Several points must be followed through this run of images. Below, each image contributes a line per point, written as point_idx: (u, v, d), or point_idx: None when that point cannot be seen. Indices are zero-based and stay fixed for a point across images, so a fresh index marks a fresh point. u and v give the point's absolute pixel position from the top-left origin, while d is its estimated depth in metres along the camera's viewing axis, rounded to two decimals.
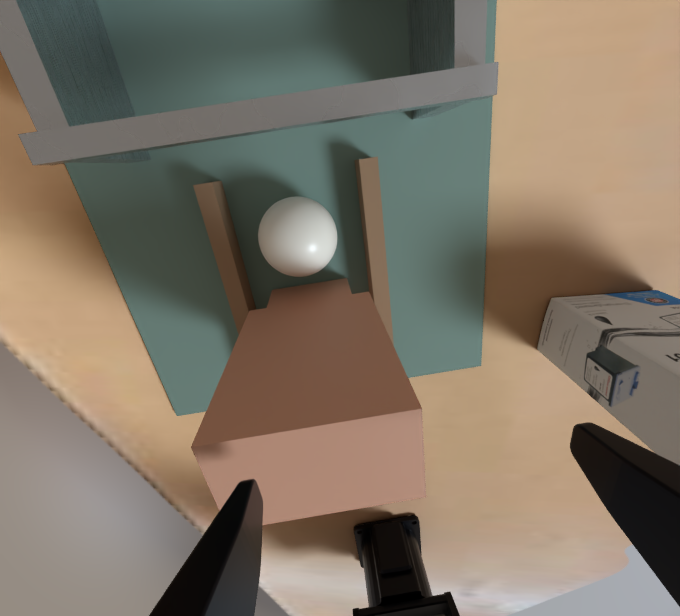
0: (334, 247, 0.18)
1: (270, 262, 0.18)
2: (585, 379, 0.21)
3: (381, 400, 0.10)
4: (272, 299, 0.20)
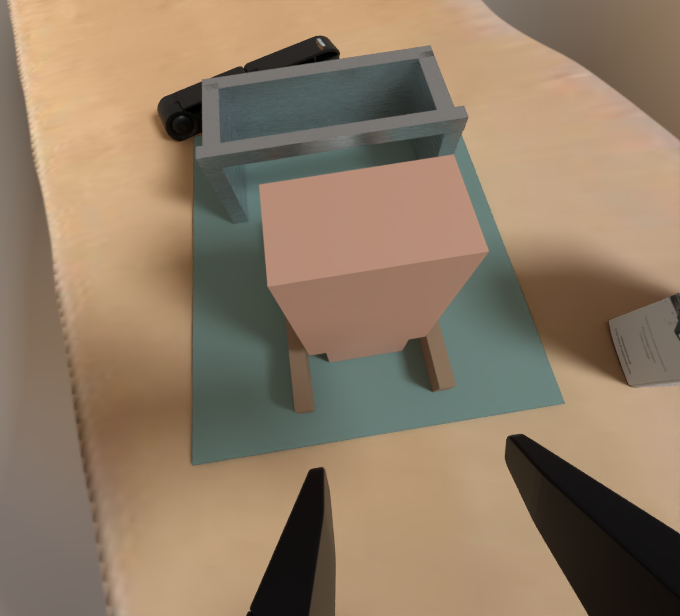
0: None
1: None
2: None
3: None
4: None
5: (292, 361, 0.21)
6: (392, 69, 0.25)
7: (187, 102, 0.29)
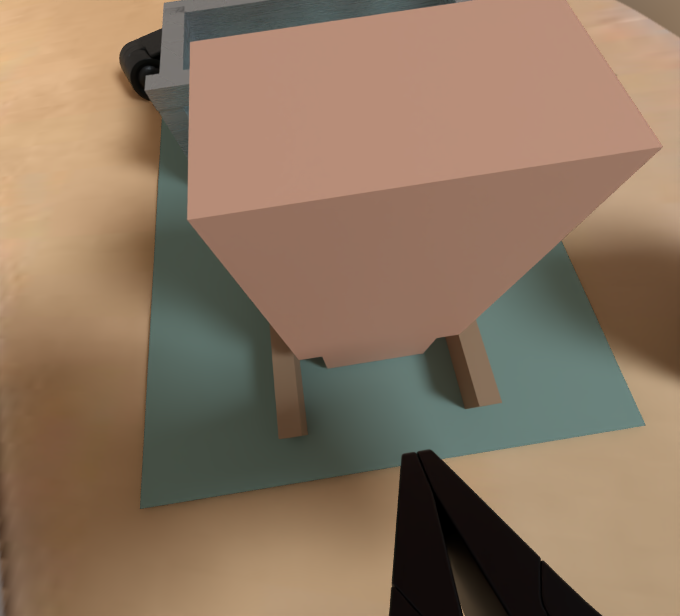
0: None
1: None
2: None
3: None
4: None
5: (276, 367, 0.15)
6: None
7: (156, 47, 0.23)
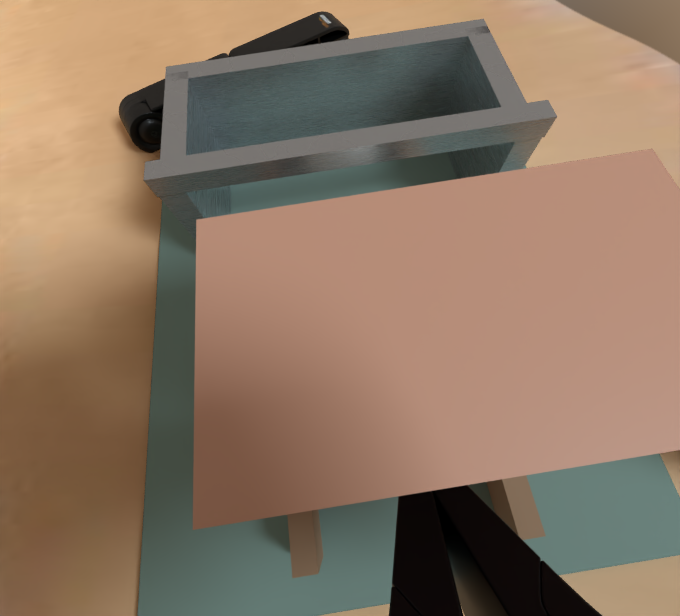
0: None
1: None
2: None
3: None
4: None
5: None
6: (430, 52, 0.18)
7: (157, 101, 0.22)
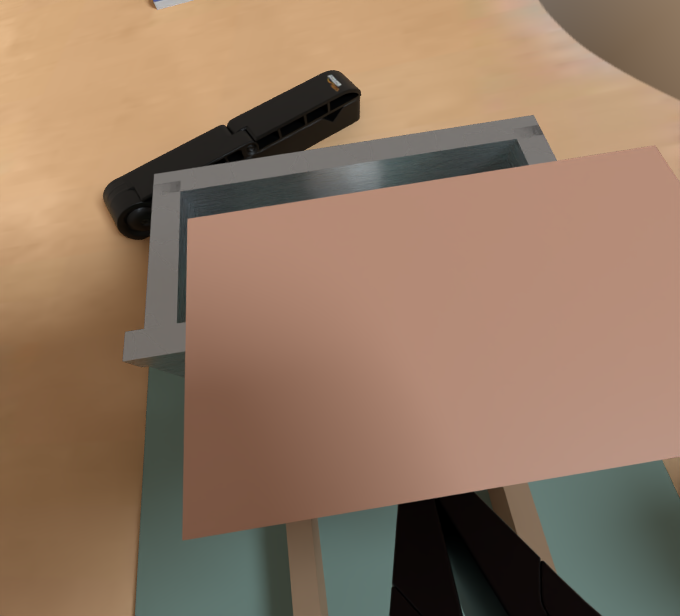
0: None
1: None
2: None
3: None
4: None
5: None
6: (470, 155, 0.15)
7: (147, 188, 0.19)
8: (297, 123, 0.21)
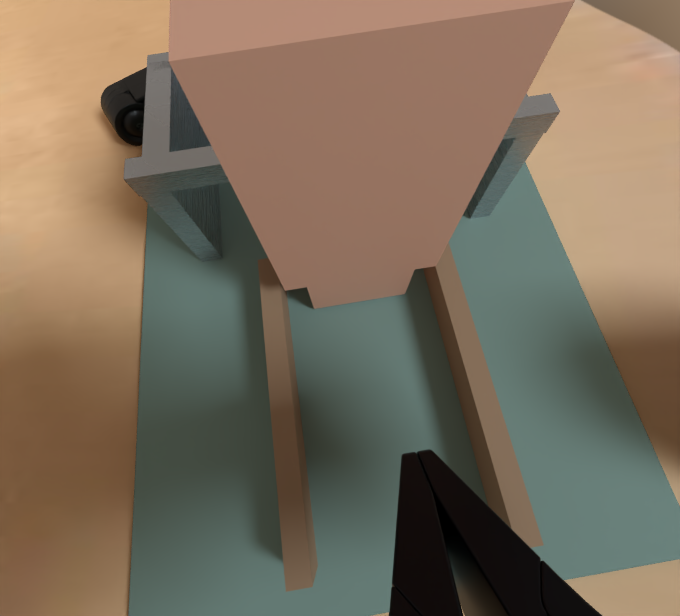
0: None
1: None
2: None
3: None
4: None
5: (281, 497, 0.13)
6: None
7: (141, 90, 0.21)
8: None
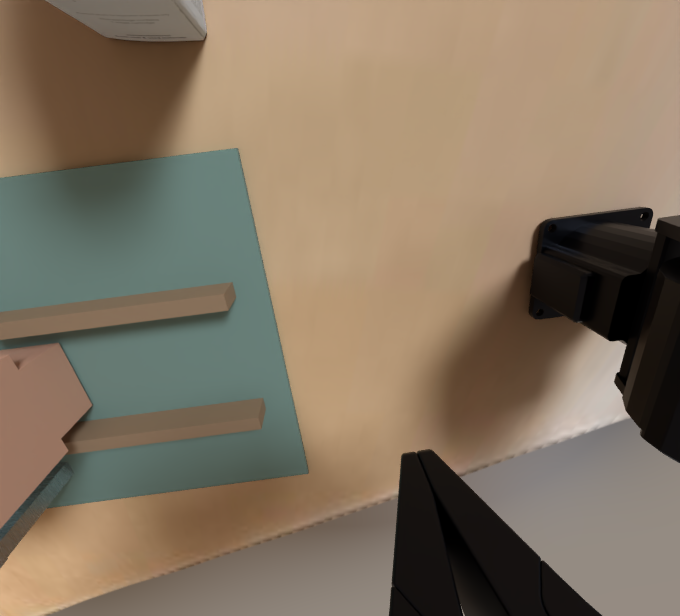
0: None
1: None
2: None
3: None
4: None
5: (215, 433, 0.22)
6: None
7: None
8: None
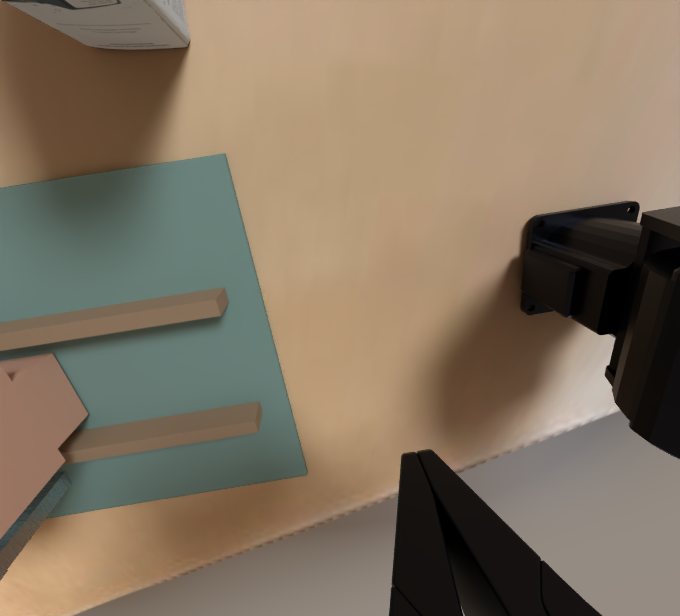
0: None
1: None
2: (116, 1, 0.11)
3: None
4: None
5: (212, 438, 0.22)
6: None
7: None
8: None
